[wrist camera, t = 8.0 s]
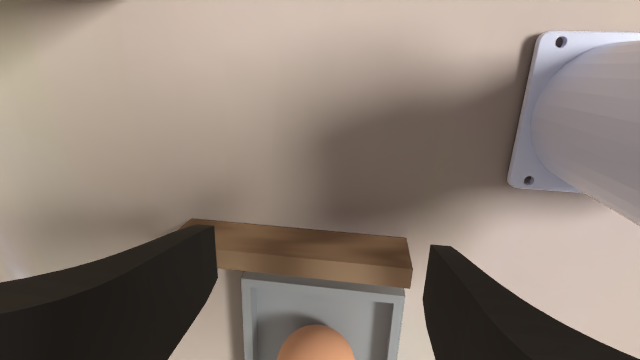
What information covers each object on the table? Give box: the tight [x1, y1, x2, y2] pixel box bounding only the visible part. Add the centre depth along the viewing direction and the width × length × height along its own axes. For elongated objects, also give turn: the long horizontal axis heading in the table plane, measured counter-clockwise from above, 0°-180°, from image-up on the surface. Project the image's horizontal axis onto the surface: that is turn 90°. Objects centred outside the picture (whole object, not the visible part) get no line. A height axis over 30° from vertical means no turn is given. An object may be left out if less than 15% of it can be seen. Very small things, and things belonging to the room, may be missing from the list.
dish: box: [241, 271, 405, 360], centre depth 24 cm, size 10×10×2 cm
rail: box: [179, 219, 413, 289], centre depth 21 cm, size 14×1×4 cm, turn 88°
